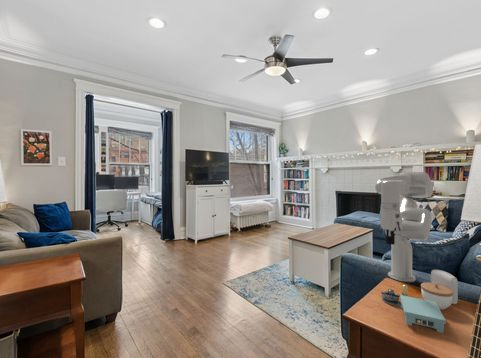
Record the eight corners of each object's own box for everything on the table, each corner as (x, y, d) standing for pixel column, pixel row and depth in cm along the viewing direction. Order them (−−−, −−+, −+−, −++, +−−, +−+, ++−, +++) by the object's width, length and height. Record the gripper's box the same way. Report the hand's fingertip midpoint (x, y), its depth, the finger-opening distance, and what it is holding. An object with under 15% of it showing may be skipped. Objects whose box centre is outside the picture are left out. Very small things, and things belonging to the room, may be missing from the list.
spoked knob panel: (381, 295, 111) (381, 285, 111) (431, 305, 102) (431, 294, 102) (384, 320, 92) (384, 308, 92) (446, 335, 83) (446, 321, 83)
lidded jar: (459, 314, 96) (459, 291, 96) (429, 311, 98) (429, 288, 98) (442, 300, 106) (442, 279, 106) (415, 298, 109) (415, 277, 108)
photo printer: (428, 293, 113) (429, 267, 113) (436, 292, 114) (436, 267, 113) (451, 305, 103) (451, 276, 102) (459, 304, 103) (460, 276, 103)
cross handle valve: (405, 298, 107) (405, 282, 107) (409, 306, 101) (409, 289, 100) (380, 293, 111) (380, 278, 111) (381, 300, 105) (381, 284, 105)
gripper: (409, 208, 107) (409, 248, 108) (387, 204, 122) (387, 239, 123) (393, 208, 107) (393, 248, 107) (373, 204, 122) (373, 239, 122)
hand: (390, 243), depth 115 cm, fingers closed
